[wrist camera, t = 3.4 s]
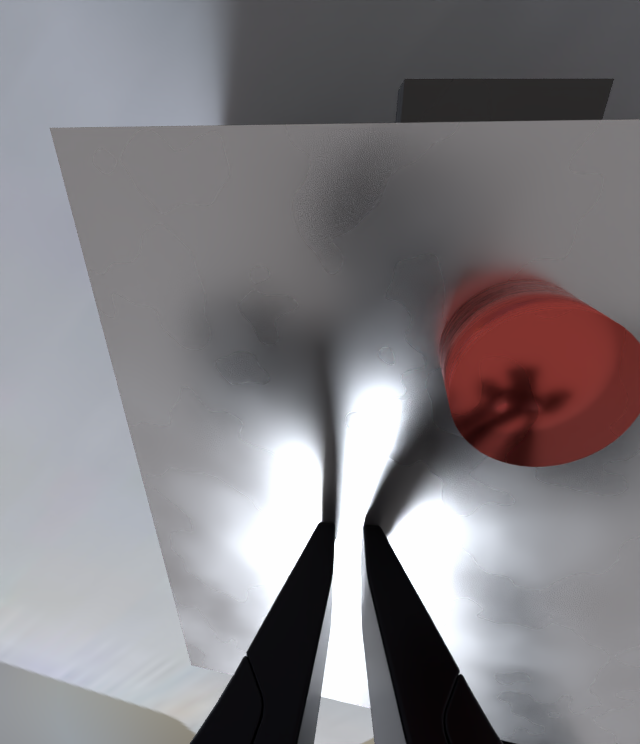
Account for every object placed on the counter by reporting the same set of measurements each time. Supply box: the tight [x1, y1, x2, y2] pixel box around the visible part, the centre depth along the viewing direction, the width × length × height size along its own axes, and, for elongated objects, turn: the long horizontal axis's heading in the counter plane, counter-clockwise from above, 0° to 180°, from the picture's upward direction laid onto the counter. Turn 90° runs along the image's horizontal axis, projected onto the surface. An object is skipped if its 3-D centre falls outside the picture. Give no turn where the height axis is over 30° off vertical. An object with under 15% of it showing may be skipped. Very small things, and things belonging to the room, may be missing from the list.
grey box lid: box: [50, 119, 640, 744], centre depth 8 cm, size 17×20×3 cm
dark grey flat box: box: [396, 79, 614, 123], centre depth 14 cm, size 19×16×8 cm
